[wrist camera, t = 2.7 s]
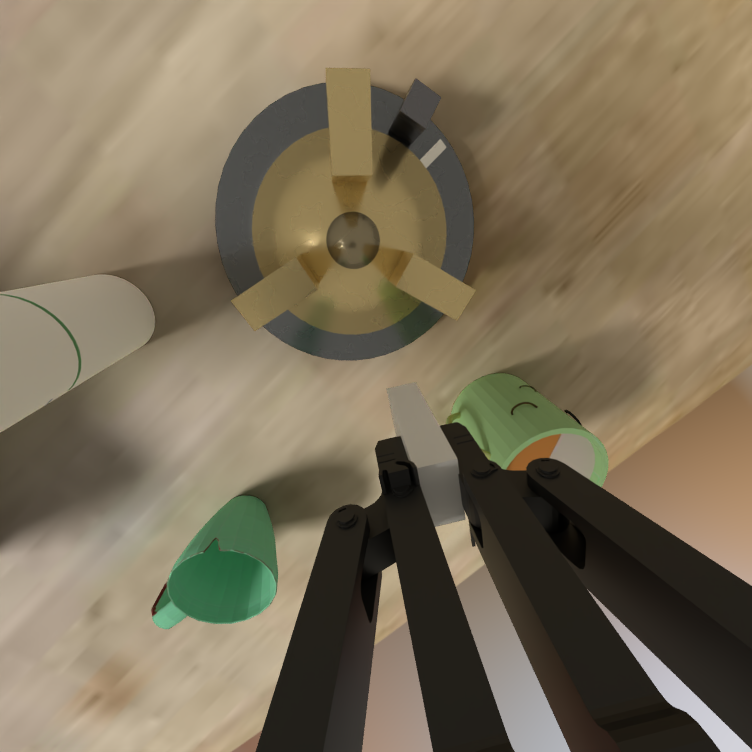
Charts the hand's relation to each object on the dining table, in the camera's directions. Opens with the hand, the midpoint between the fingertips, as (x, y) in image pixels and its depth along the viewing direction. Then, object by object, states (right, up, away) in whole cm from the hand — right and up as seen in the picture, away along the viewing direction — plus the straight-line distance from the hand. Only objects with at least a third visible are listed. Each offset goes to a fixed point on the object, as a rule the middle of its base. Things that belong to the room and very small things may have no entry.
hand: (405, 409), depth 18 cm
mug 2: (+11, -2, +23) cm, 26 cm away
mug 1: (-19, -16, +25) cm, 35 cm away
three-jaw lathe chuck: (-3, +13, +12) cm, 18 cm away
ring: (-4, +14, +14) cm, 21 cm away
